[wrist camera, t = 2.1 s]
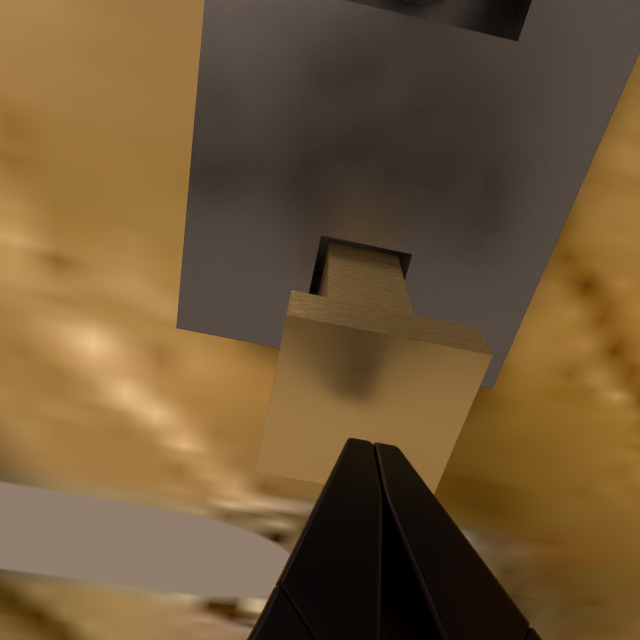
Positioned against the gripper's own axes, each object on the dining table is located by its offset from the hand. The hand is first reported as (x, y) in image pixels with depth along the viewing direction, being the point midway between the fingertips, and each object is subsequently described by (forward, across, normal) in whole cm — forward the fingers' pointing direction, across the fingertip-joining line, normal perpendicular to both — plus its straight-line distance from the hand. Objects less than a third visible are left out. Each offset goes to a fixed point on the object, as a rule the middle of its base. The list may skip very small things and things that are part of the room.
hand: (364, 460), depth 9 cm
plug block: (+8, 0, 0) cm, 8 cm away
